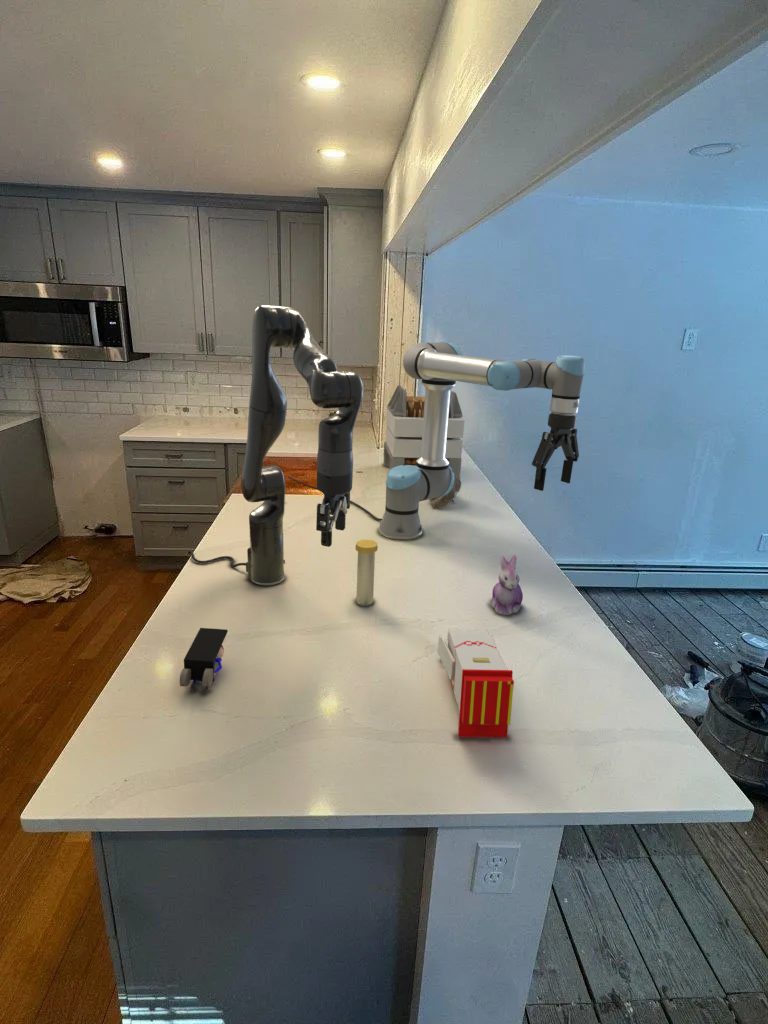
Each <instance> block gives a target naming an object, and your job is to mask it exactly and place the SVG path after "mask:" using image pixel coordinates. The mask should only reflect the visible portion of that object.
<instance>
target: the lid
mask: <svg viewBox="0 0 768 1024" xmlns="http://www.w3.org/2000/svg"><path fill="white" fill-rule="evenodd" d="M378 548H379V547H378V542H377V541H375V540H373V539H359V540H357V541H356V543H355V550H356V552H357V553H358V552H360V553H365V554H369V553H374V552H375V553H376V552H377V551H378Z"/></svg>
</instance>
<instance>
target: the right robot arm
mask: <svg viewBox="0 0 768 1024" xmlns="http://www.w3.org/2000/svg"><path fill="white" fill-rule="evenodd" d="M585 365H586V360H585V358H584V357H582V356H578V355H566V354H565V355H564V354H563V355H558V356H557V357H556V360H555V361H549V360H541V359H536V358H524V359H521V360H506V359H505V360H504V359H503V360H502V359H496V358H487V357H479V356H471V355H464V354H463V352H462V350H461V349H460V347H459V346H457V345H456V344H455V343H451V342H445V341H443V342H442V341H441V342H440V341H439V342H438V341H437V342H417V343H414V344H412V345H411V346H409V347H408V348H407V350H406V351H405V353H404V355H403V358H402V366H403V369H404V372H405V373H406V374H407V375H408V376H409V377H411V378H412V379H415V380H421V385H422V386H423V387H424V389H425V392H424V397H425V404H424V419H423V434H422V449H421V457H420V458H418V459H417V461H416V466H413V465H401V466H396V467H394V468H392V469H390V468H389V470H388V472H387V474H386V479H385V504H384V505H385V507H384V508H385V509H384V513H383V515H382V518H378V517H376V516H375V515H374V514H373V513H371V512H370V511H369V510H367V509H366V508H365V507H363V506H361V505H360V504H358V503H356V502H354V501H352V500H350V504H352V505H354V506H356V507H358V508H359V509H361V510H363V511H364V512H365V513H366V514H367V515H369V516H370V517H372V518H373V519H374V520H376V521H379V527H378V533H379V534H380V535H381V536H382V537H385V538H387V539H389V540H395V541H410V540H415V539H418V538H420V537H421V536H422V535H423V525H422V524H421V518H420V515H419V507H420V506H419V505H420V502H423V501H427V500H428V501H429V500H430V499H432V498H438V497H441V496H443V495H445V494H447V493H448V492H449V491H450V490H451V489H452V487H453V484H454V473H452V469H451V467H450V466H449V462H448V461H447V459H446V458H445V453H446V441H447V428H448V416H449V404H450V392H451V391H452V389H453V388H454V387H455V386H456V384H457V382H461V383H465V384H473V385H479V386H487V387H491V388H492V389H494V390H496V391H503V392H504V391H511V390H520V389H532V388H533V389H534V388H539V389H546V390H551V398H550V404H549V413H548V418H547V419H548V420H547V426H548V427H549V428H550V431H549V432H548V431H543V432H542V435H541V440H540V442H539V445H538V447H537V449H536V452H535V454H534V457H533V460H532V461H531V466H533V467H535V475H534V477H535V478H534V485H533V489H534V490H537V491H539V492H543V491H544V489H545V484H546V483H545V482H546V476H547V468H546V466H547V465H548V463H549V461H550V459H551V457H552V456H553V454H554V453H555V451H556V450H557V449H558V448H560V447H561V449H562V452H563V455H564V458H565V459H563V463H562V468H561V469H562V470H561V475H560V482H562V483H566V484H571V478H572V472H573V466H574V463H576V462H578V461H579V457H580V453H579V444H578V428H576V423H577V419H578V416H577V414H578V412H579V411H578V410H579V406H580V397H581V391H582V385H583V380H584V376H585ZM287 478H288V479H289V480H291V481H293V482H296V483H298V484H300V485H302V486H306V487H308V488H311V489H313V490H317V491H319V490H318V489H317V486H316V487H315V486H313V485H310V484H307V483H304V482H302V481H299V480H297V479H295V478H293V477H291V476H287Z"/></svg>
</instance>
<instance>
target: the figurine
mask: <svg viewBox="0 0 768 1024" xmlns="http://www.w3.org/2000/svg"><path fill="white" fill-rule="evenodd" d="M517 557H518V556H517V554H513V555H512V556H511V558H510V560H509V561H507V559H506V557H505V556H504V555H501V556H500V558H499V559H500V572H499V574H498V582H497V583H496V584H495V585H494V586H493V588H492V594H491V595H492V597H491V607H492V608H493V609H494V610H495V612H496V613H498V614H499V615H505V616H510V615H512V614H515V613H517V612H519V610H520V609H521V605H522V602H523V599H524V598H523V597H524V593H523V591H522V587H521V585H520V584H519V583H520V575H519V573H518V570H517V567H516V565H517V559H518V558H517Z"/></svg>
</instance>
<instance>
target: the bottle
mask: <svg viewBox="0 0 768 1024" xmlns="http://www.w3.org/2000/svg"><path fill="white" fill-rule="evenodd" d="M375 562H376V552H374V553H369V554H365V553H360V552H358V551H357V562H356V563H357V565H356V566H357V567H356V600H355V601H356V603H357V605H360V606H363V607H367V606H370V605H372V604H373V603H374V590H375V589H374V587H375V586H374V585H375V568H376V567H375V564H376V563H375Z"/></svg>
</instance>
